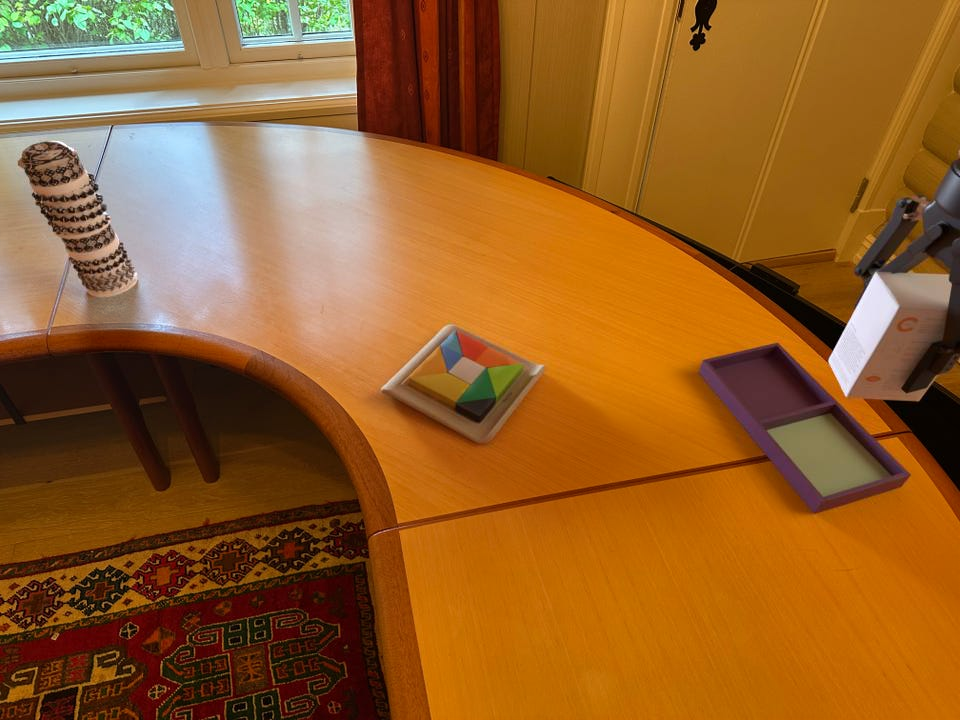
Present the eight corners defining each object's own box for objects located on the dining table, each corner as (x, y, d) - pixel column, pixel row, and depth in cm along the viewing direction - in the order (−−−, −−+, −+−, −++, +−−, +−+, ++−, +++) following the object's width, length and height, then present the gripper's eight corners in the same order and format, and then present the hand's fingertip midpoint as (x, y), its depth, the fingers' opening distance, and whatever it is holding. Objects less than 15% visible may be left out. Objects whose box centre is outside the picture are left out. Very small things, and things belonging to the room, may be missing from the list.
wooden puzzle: (488, 450, 81) (489, 433, 78) (377, 396, 88) (374, 379, 85) (548, 372, 91) (550, 355, 89) (445, 329, 99) (444, 313, 96)
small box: (895, 363, 72) (955, 273, 63) (919, 403, 67) (987, 311, 58) (825, 360, 72) (874, 269, 63) (844, 399, 68) (900, 307, 59)
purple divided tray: (772, 354, 94) (777, 342, 93) (901, 487, 76) (911, 474, 75) (698, 372, 91) (702, 359, 90) (814, 514, 74) (822, 502, 72)
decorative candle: (147, 284, 108) (85, 149, 91) (92, 305, 103) (15, 166, 86) (131, 262, 113) (69, 129, 96) (78, 281, 108) (2, 146, 91)
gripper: (878, 128, 58) (793, 312, 74) (1093, 238, 44) (932, 439, 59) (939, 118, 60) (844, 301, 75) (1166, 222, 45) (991, 421, 61)
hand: (883, 361), depth 67 cm, fingers closed on small box, 8 cm apart
